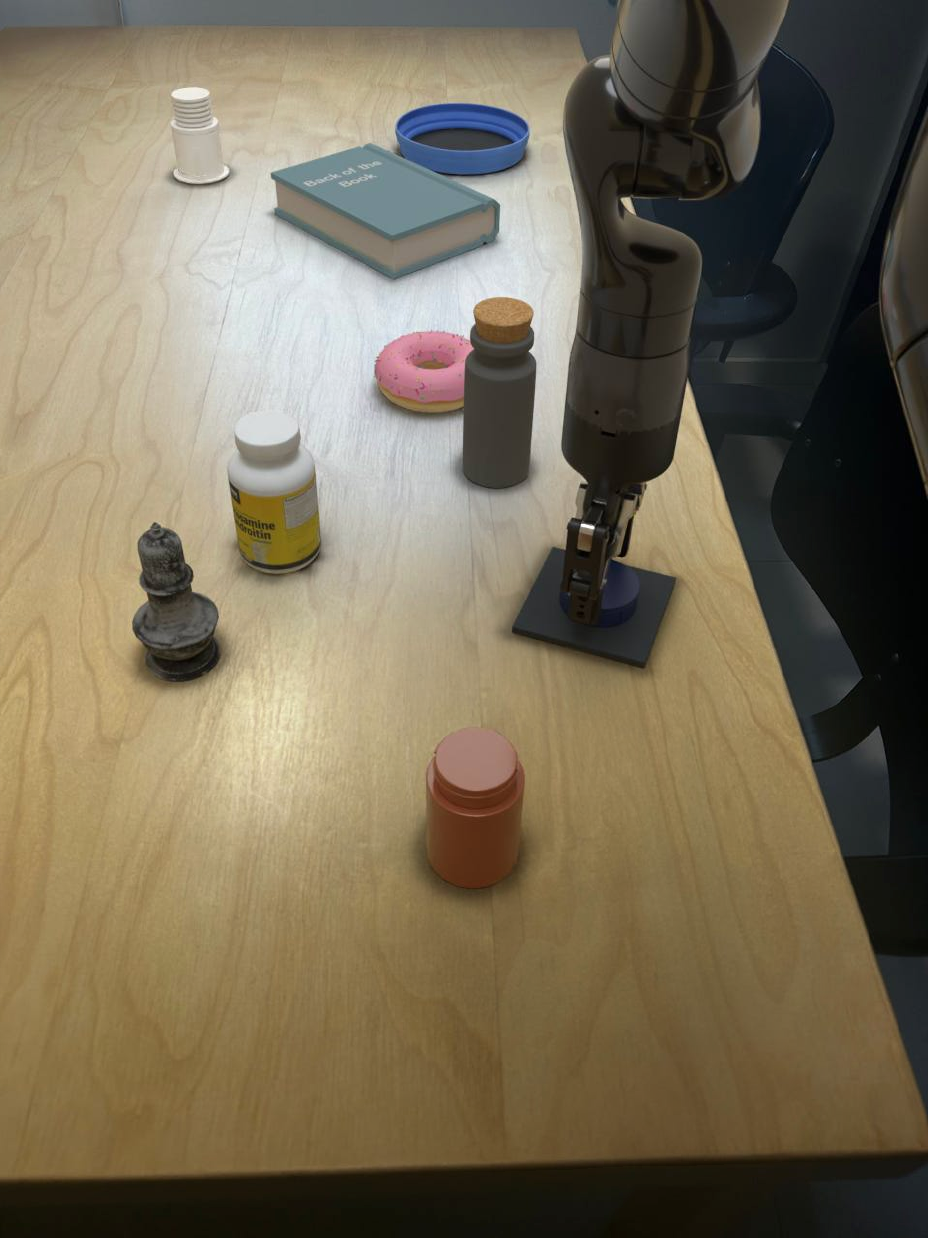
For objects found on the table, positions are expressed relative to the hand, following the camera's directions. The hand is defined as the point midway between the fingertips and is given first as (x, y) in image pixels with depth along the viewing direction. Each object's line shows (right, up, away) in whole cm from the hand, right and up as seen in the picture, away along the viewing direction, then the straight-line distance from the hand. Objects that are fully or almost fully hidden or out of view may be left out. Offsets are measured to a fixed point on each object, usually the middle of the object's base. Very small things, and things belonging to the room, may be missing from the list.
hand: (598, 585), depth 82 cm
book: (-19, +44, +51) cm, 70 cm away
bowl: (-10, +61, +68) cm, 92 cm away
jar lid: (0, 0, 0) cm, 0 cm away
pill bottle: (-24, +3, +6) cm, 25 cm away
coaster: (0, -2, +2) cm, 2 cm away
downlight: (-44, +55, +61) cm, 93 cm away
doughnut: (-13, +19, +24) cm, 33 cm away
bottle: (-7, +10, +14) cm, 19 cm away
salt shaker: (-30, -5, -3) cm, 31 cm away
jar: (-9, -17, -15) cm, 24 cm away
